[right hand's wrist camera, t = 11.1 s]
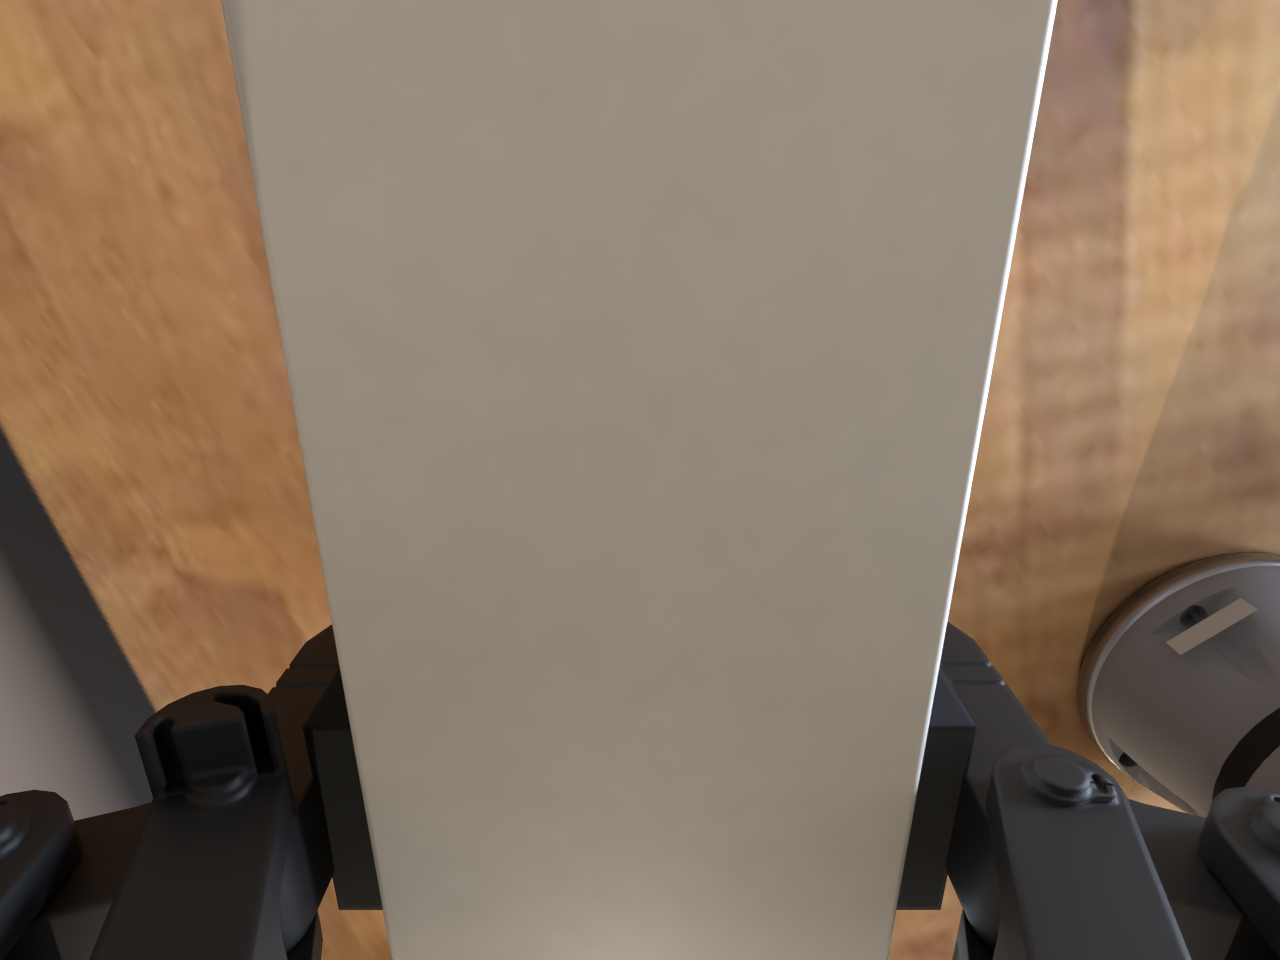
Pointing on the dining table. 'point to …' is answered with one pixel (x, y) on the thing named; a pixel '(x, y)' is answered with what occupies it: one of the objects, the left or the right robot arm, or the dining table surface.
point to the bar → (639, 439)
